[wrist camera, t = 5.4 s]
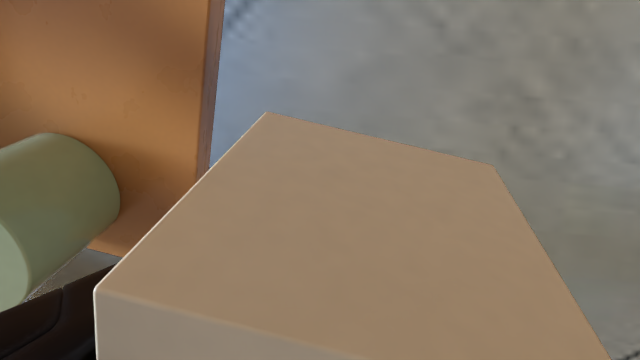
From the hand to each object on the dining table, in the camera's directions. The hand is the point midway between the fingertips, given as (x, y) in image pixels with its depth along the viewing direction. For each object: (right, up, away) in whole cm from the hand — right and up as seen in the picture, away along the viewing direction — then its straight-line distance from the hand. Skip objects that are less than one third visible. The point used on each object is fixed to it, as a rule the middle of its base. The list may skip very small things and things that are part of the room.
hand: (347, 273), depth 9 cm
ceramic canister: (-11, +2, +9) cm, 14 cm away
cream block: (0, +1, +1) cm, 2 cm away
